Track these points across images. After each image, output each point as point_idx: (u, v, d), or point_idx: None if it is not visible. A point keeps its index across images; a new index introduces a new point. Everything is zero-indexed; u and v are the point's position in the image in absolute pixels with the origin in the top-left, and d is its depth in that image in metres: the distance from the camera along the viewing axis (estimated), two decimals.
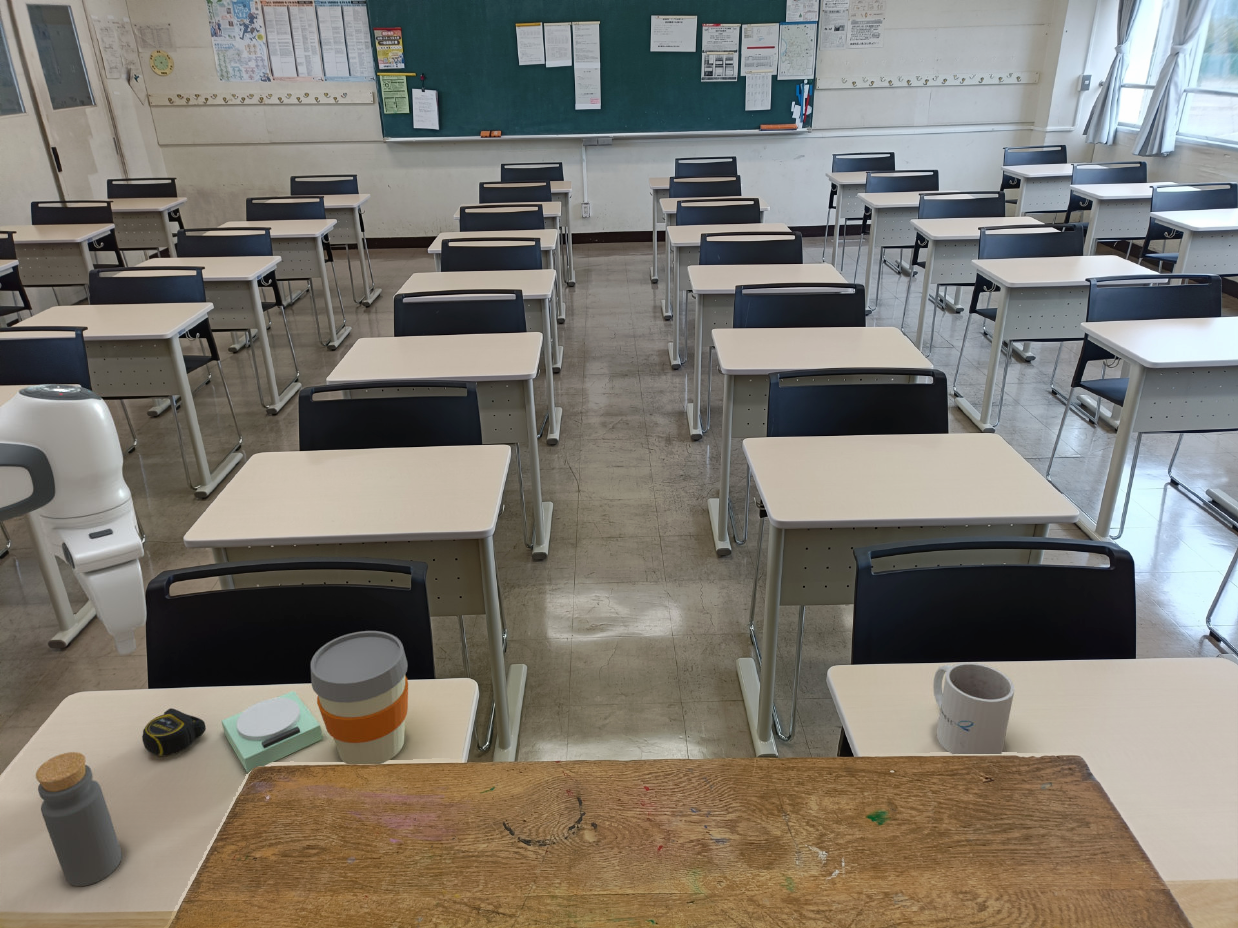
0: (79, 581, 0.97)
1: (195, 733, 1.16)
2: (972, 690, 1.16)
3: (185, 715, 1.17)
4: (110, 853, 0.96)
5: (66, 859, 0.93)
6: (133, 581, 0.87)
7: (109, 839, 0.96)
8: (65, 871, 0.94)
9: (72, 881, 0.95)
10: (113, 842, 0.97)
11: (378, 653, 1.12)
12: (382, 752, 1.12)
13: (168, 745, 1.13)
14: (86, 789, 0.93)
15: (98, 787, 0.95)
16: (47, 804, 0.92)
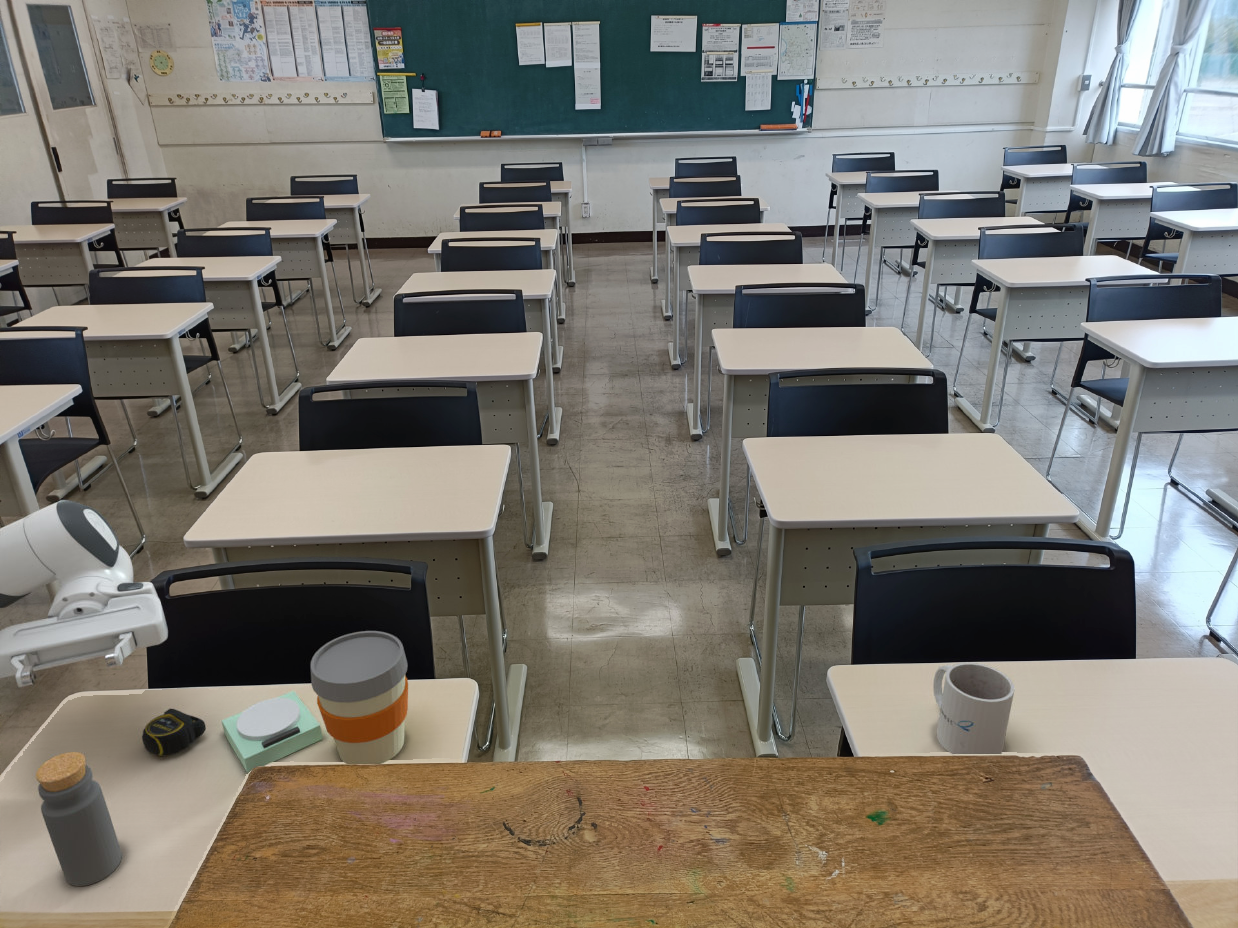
0: (28, 643, 1.03)
1: (195, 733, 1.16)
2: (972, 690, 1.16)
3: (185, 715, 1.17)
4: (110, 853, 0.96)
5: (66, 859, 0.93)
6: None
7: (109, 839, 0.96)
8: (65, 871, 0.94)
9: (72, 881, 0.95)
10: (113, 842, 0.97)
11: (377, 653, 1.12)
12: (382, 752, 1.12)
13: (168, 745, 1.13)
14: (86, 789, 0.93)
15: (98, 787, 0.95)
16: (47, 804, 0.92)
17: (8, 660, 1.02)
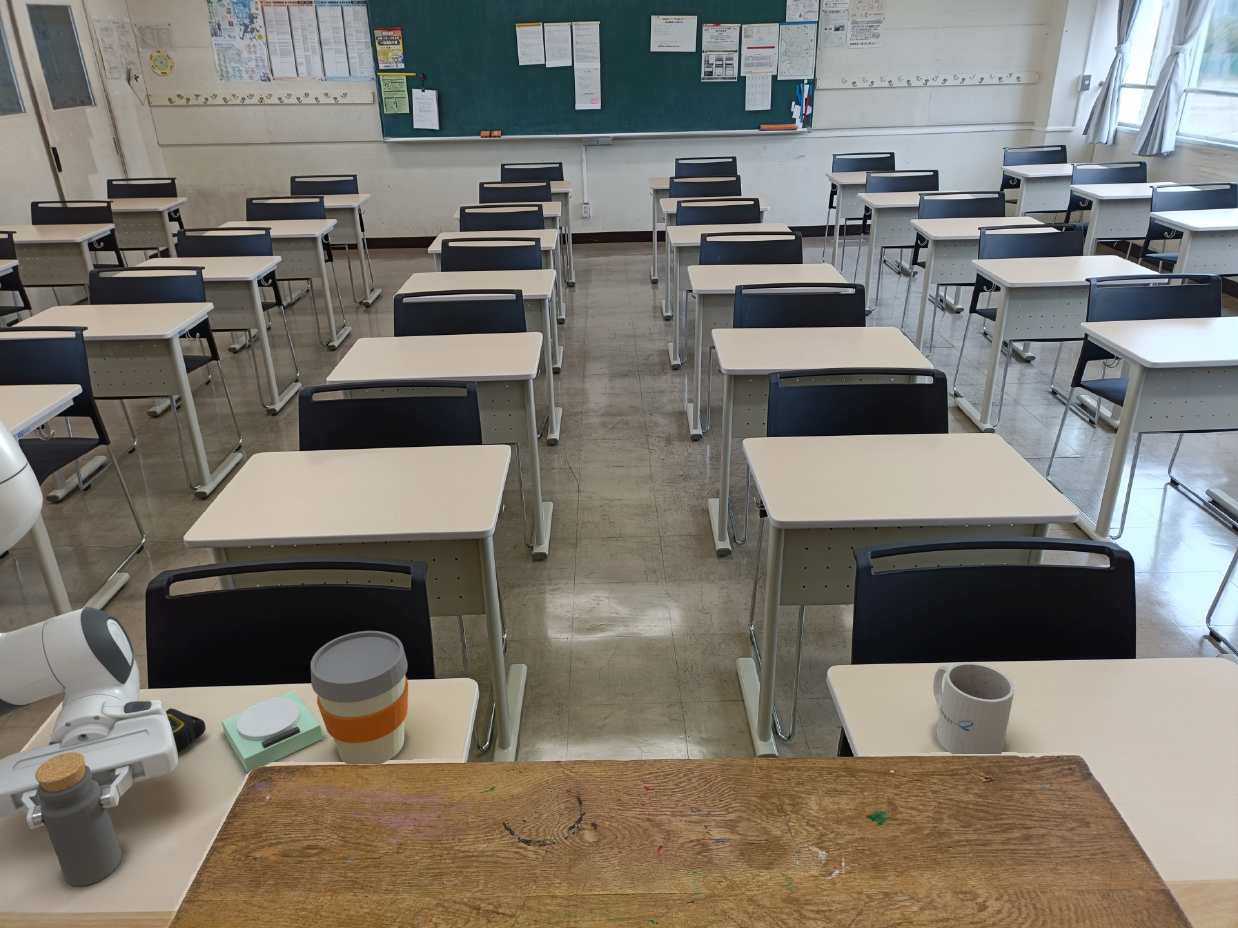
0: (29, 779, 0.96)
1: (195, 733, 1.16)
2: (972, 690, 1.16)
3: (185, 715, 1.17)
4: (110, 853, 0.96)
5: (66, 859, 0.93)
6: None
7: (108, 839, 0.96)
8: (65, 871, 0.94)
9: (72, 881, 0.95)
10: (113, 842, 0.97)
11: (378, 653, 1.12)
12: (382, 752, 1.12)
13: None
14: (86, 789, 0.93)
15: (98, 787, 0.95)
16: (47, 804, 0.92)
17: (7, 799, 0.95)
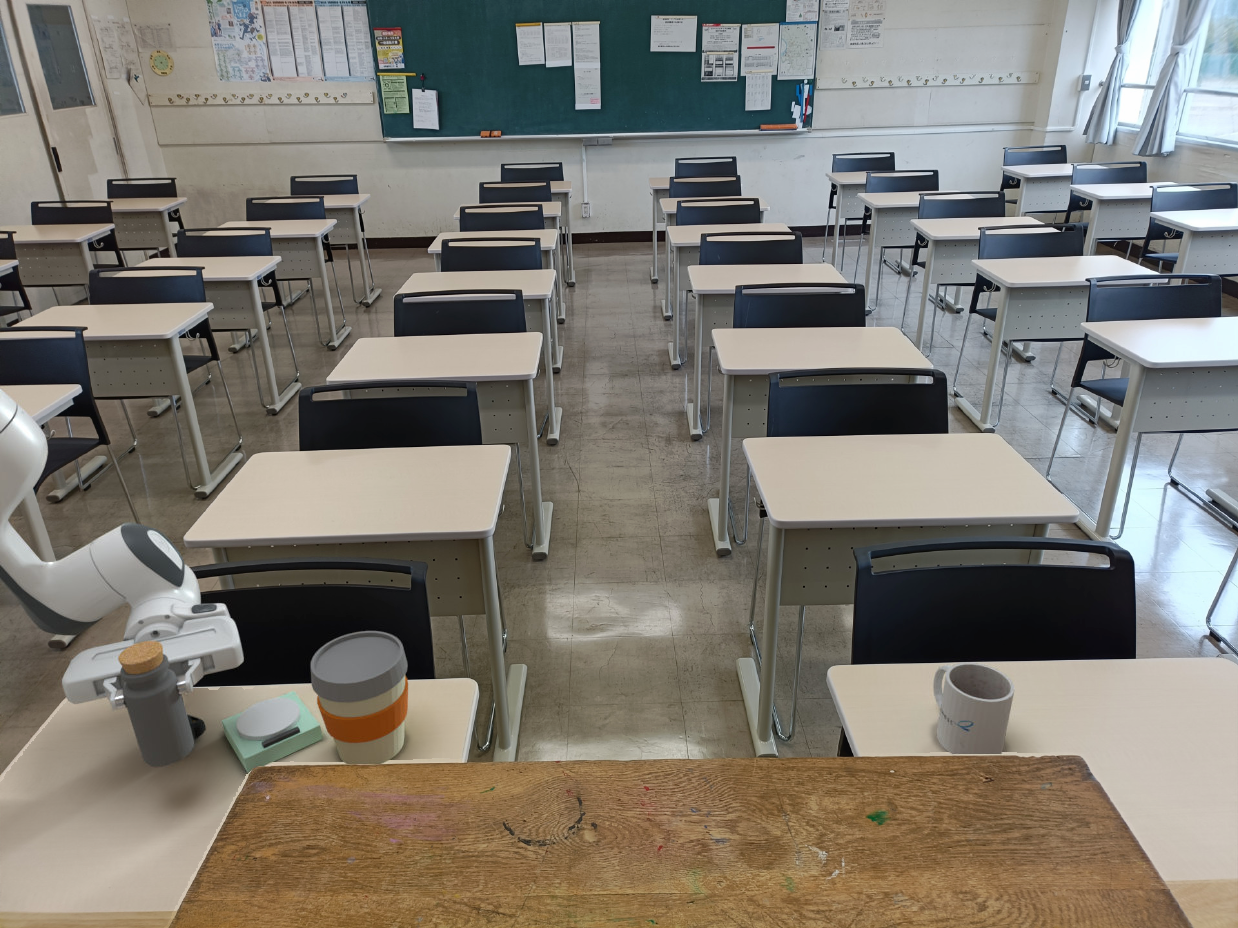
0: (109, 668, 1.02)
1: (195, 733, 1.16)
2: (972, 690, 1.16)
3: None
4: (185, 737, 1.02)
5: (145, 740, 1.00)
6: None
7: (184, 724, 1.02)
8: (144, 752, 1.01)
9: (150, 762, 1.01)
10: (187, 728, 1.03)
11: (378, 653, 1.12)
12: (382, 752, 1.12)
13: None
14: (164, 675, 1.00)
15: (174, 674, 1.01)
16: (128, 687, 0.98)
17: (89, 685, 1.01)
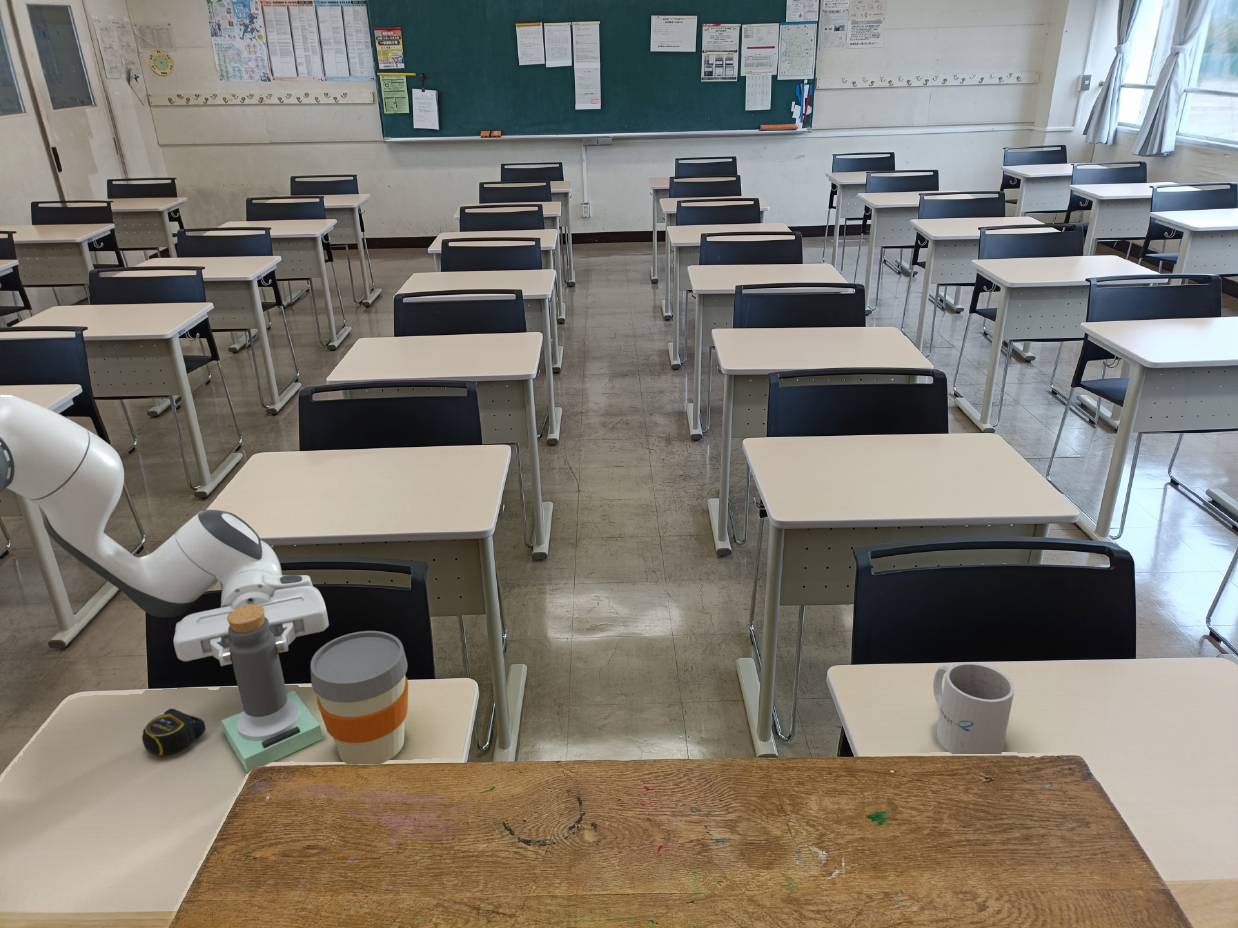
0: (213, 629, 1.15)
1: (195, 733, 1.16)
2: (972, 690, 1.16)
3: (185, 715, 1.17)
4: (281, 691, 1.15)
5: (248, 692, 1.13)
6: None
7: (280, 679, 1.15)
8: (246, 704, 1.13)
9: (252, 712, 1.14)
10: (282, 683, 1.16)
11: (377, 653, 1.12)
12: (382, 752, 1.12)
13: (168, 745, 1.13)
14: (265, 634, 1.12)
15: (272, 634, 1.14)
16: (235, 645, 1.11)
17: (197, 644, 1.14)
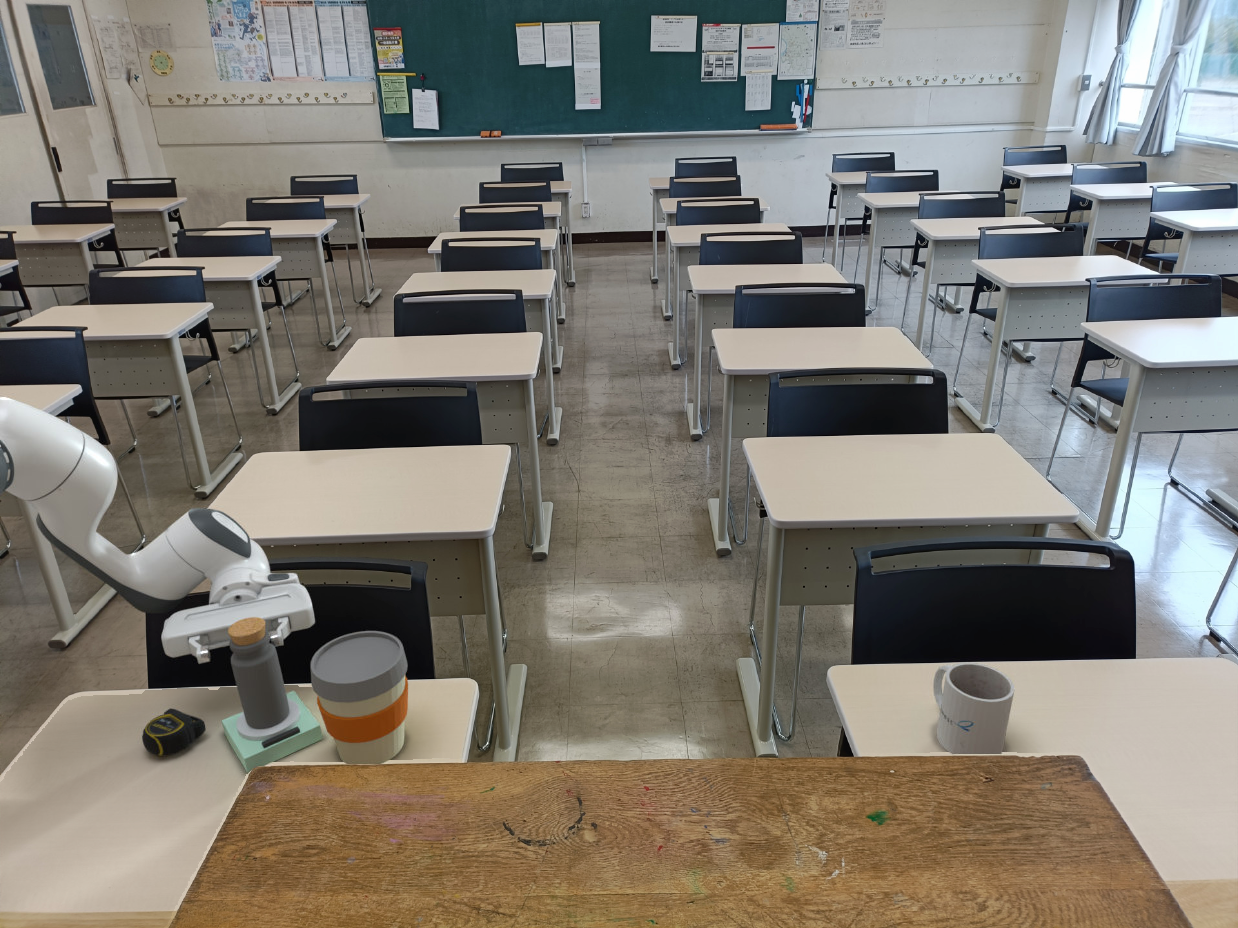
0: (201, 626, 1.17)
1: (195, 733, 1.16)
2: (972, 690, 1.16)
3: (185, 715, 1.17)
4: (283, 702, 1.16)
5: (250, 705, 1.13)
6: None
7: (282, 691, 1.16)
8: (249, 716, 1.14)
9: (254, 724, 1.14)
10: (284, 694, 1.17)
11: (377, 653, 1.12)
12: (382, 752, 1.12)
13: (168, 745, 1.13)
14: (266, 646, 1.13)
15: (273, 646, 1.15)
16: (236, 657, 1.12)
17: (185, 640, 1.15)
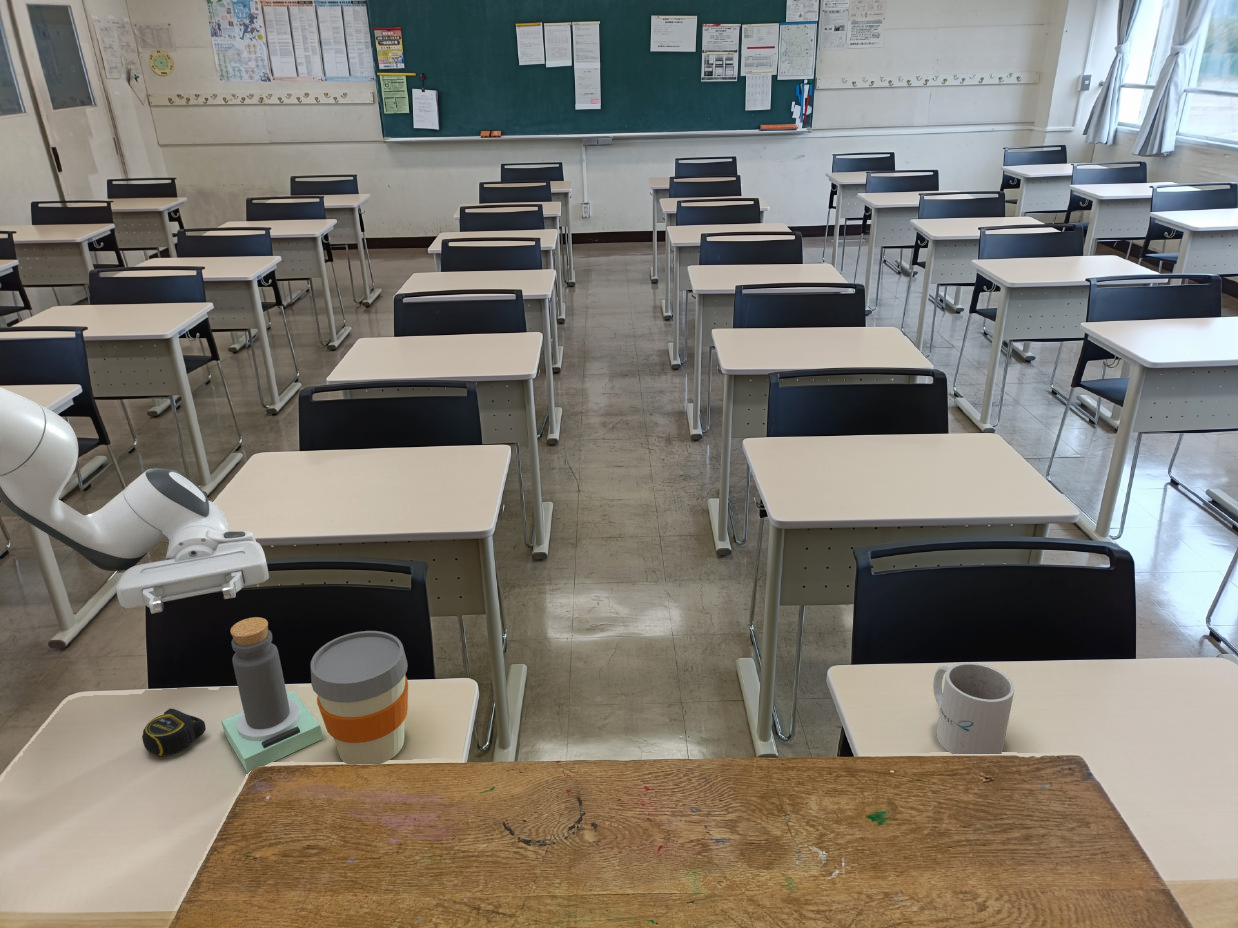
0: (155, 578, 1.20)
1: (195, 733, 1.16)
2: (972, 690, 1.16)
3: (185, 715, 1.17)
4: (283, 703, 1.16)
5: (251, 705, 1.13)
6: None
7: (283, 691, 1.16)
8: (249, 716, 1.14)
9: (254, 724, 1.14)
10: (285, 695, 1.17)
11: (378, 653, 1.12)
12: (382, 752, 1.12)
13: (168, 745, 1.13)
14: (268, 647, 1.13)
15: (275, 647, 1.15)
16: (238, 657, 1.12)
17: (139, 592, 1.18)
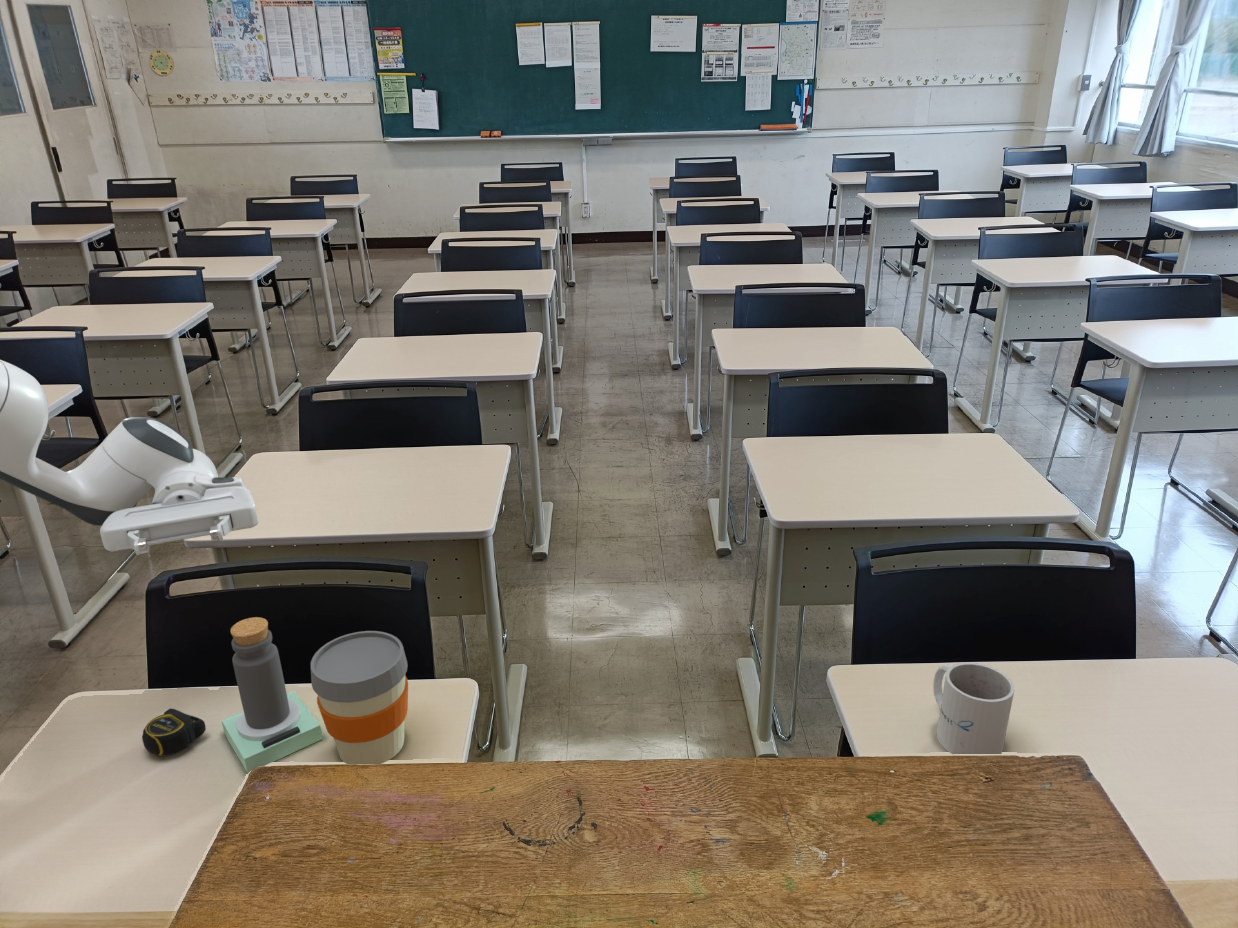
0: (140, 521, 1.16)
1: (195, 733, 1.16)
2: (972, 690, 1.16)
3: (185, 715, 1.17)
4: (283, 703, 1.16)
5: (251, 705, 1.13)
6: None
7: (283, 691, 1.16)
8: (249, 716, 1.14)
9: (254, 724, 1.14)
10: (285, 695, 1.17)
11: (378, 653, 1.12)
12: (382, 752, 1.12)
13: (168, 745, 1.13)
14: (268, 647, 1.13)
15: (275, 647, 1.15)
16: (238, 657, 1.12)
17: (124, 534, 1.15)
